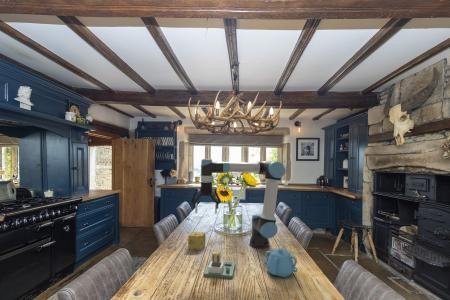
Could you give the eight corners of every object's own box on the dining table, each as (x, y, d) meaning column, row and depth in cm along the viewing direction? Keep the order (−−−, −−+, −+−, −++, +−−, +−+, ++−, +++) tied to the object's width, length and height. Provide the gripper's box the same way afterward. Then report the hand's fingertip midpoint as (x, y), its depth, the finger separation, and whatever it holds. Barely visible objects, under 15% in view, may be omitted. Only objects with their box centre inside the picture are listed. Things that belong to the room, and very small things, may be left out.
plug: (220, 267, 144) (220, 250, 145) (218, 272, 139) (219, 254, 139) (213, 267, 145) (213, 250, 145) (211, 271, 139) (211, 253, 140)
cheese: (201, 250, 175) (201, 236, 175) (187, 249, 177) (187, 235, 177) (205, 245, 185) (205, 232, 185) (192, 244, 187) (192, 231, 187)
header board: (235, 264, 153) (235, 257, 153) (232, 278, 135) (232, 270, 135) (210, 262, 155) (210, 255, 155) (203, 276, 137) (203, 268, 137)
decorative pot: (299, 279, 135) (299, 254, 135) (271, 280, 133) (271, 255, 133) (288, 266, 151) (289, 244, 151) (263, 267, 149) (263, 244, 150)
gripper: (225, 181, 168) (225, 212, 167) (190, 180, 171) (189, 211, 171) (223, 182, 160) (223, 215, 160) (187, 181, 164) (186, 213, 163)
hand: (206, 213), depth 165 cm, fingers open, 13 cm apart
